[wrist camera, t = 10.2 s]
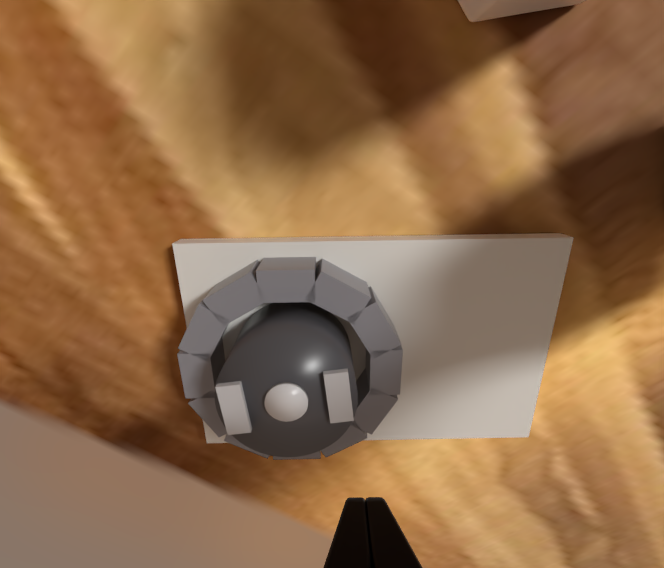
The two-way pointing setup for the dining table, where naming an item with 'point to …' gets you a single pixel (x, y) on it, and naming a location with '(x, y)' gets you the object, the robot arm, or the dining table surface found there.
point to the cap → (288, 381)
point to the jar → (508, 7)
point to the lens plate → (436, 318)
